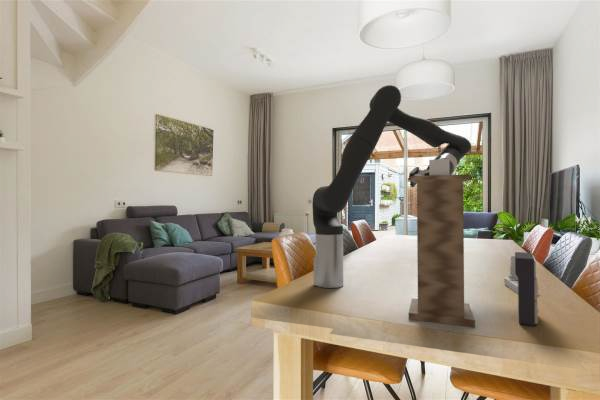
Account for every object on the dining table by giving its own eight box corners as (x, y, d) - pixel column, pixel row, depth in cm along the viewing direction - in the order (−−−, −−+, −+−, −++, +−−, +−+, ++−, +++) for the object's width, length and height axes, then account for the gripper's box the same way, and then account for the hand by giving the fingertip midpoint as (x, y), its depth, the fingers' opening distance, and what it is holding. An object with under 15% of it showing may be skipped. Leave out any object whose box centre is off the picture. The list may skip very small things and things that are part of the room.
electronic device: (519, 264, 101) (502, 254, 115) (519, 296, 101) (501, 283, 116) (540, 264, 100) (519, 255, 114) (539, 298, 100) (519, 284, 114)
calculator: (539, 327, 75) (538, 259, 75) (515, 323, 77) (515, 257, 77) (536, 313, 84) (535, 252, 84) (515, 310, 86) (514, 251, 87)
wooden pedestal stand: (408, 319, 80) (407, 175, 81) (412, 303, 93) (411, 179, 93) (474, 326, 75) (473, 173, 75) (468, 309, 88) (467, 177, 88)
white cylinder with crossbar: (430, 180, 101) (430, 168, 101) (446, 180, 99) (446, 167, 99) (429, 175, 81) (429, 159, 81) (449, 175, 80) (449, 158, 80)
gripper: (422, 153, 115) (404, 171, 104) (467, 161, 107) (453, 182, 96) (419, 173, 119) (402, 193, 108) (462, 182, 111) (448, 204, 100)
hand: (426, 187), depth 102 cm, fingers open, 8 cm apart
